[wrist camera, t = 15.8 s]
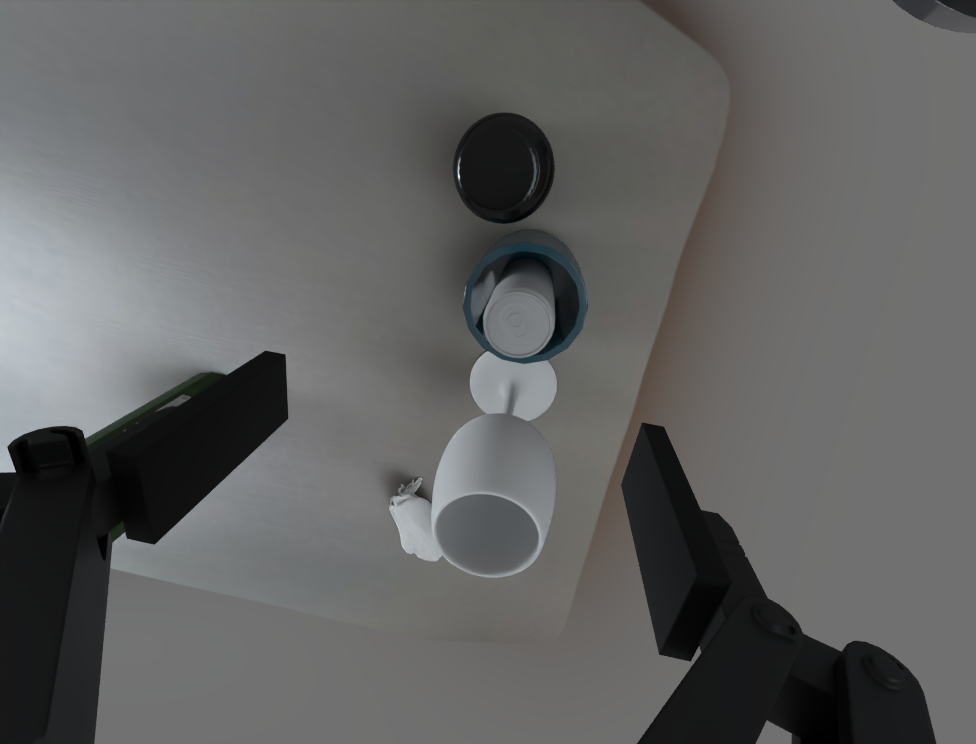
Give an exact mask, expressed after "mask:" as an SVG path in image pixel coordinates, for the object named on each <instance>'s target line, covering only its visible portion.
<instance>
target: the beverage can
mask: <svg viewBox="0 0 976 744" xmlns="http://www.w3.org/2000/svg"><path fill="white" fill-rule="evenodd" d="M483 326H484V331H485V335H486V338H487V339H488V341H489V343H490V344H491V346H492V347H493V348H495V349H496V350H497V351H498V352H500V353H502V354H503V355H506V356H509V357H512V358H524V357H529V356H532V355H534V354H536V353H538V352H539V351H540V350H542V349H543V348H544V347H545V346H546V344H547V343H548V341H549V340H550V338H551V337H552V334H553V331H554V328H555V304H554V291H553V279H552V275H551V273H550V271H549V269H548V268H547V267H546V266H545V265H544V264H542V263H541V262H539V261H537V260H534V259H529V258H523V259H519V260H516V261H514V262H512V263H510V264H509V265H508V266H507V267H506V268H505V269H504V271H503V273H502V274H501V276H500V278H499V280H498V283H497V285H496V287H495V289H494V291H493V293H492V295H491V297H490V300H489V302H488V304H487V306H486V308H485V312H484V316H483Z"/></svg>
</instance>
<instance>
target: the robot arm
mask: <svg viewBox="0 0 976 744" xmlns="http://www.w3.org/2000/svg"><path fill="white" fill-rule="evenodd" d="M287 419H288V402H287V379H286V356H285V354H280V353H275V352H269V351H264V352H263V353H261V354H260V355H258V356H256V357H255V358H253V359H252V360H250V361H248V362H247V363H245V364H244V365H242V366H241V367H239V368H237V369H236V370H234V371H233V372H231V373H229V374H228V375H226V376H225V377H223V378H221V379H220V380H218V381H217V382H215V383H214V384H212V385H210V386H209V387H207V388H206V389H204V390H202V391H201V392H199V393H198V394H196V395H194V396H193V397H191V398H190V399H188V400H187V401H185V402H183V403H182V404H180V405H179V406H170V407H167V408H164V409H161V410H158V411H156V412H153V413H151V414H150V415H148V416H146V417H145V418H143V419H141V420H140V421H138V423H137V424H136V423H135V424H133V425H131V426H130V427H128V428H126V430H125V431H122V432H120V433H118V434H117V435H115V436H113V437H112V438H110V439H108V440H107V441H105V442H103V443H102V444H100V445H98V446H97V447H95V448H93V449H92V450H90V451H89V452H88V449H87V445H86V442H85V438H84V434H83V431H82V430H80V429H78V428H76V427H69V426H56V427H48V428H43V429H38V430H35V431H32V432H29V433H27V434H24V435H22V436H20V437H18V438H17V439H15V440H13V441H12V442H11V443H10V445H9V446H8V447H7V448H8V451H9V453H10V456H11V459H12V462H13V465H14V467H15V470H16V472H10V473H0V744H94V740H95V729H96V718H97V707H98V696H99V685H100V673H101V663H102V651H103V640H104V629H105V618H106V607H107V596H108V584H109V574H110V563H111V552H112V538H111V535H110V531H111V530H112V529H114V528H115V527H116V526H117V525H119V524H120V523H121V522H122V521H123V525H124V529H125V533H126V537H127V539H131V540H136V541H141V542H145V543H150V544H154V545H155V544H156V543H157V542H158V541H159V540H160V539H161V538H162V537H163V536H164V535H165V534H166V533H167V532H168V531H169V530H171V529H172V528H173V527H174V526H175V525H176V524H177V523H178V522H179V521H180V520H181V519H182V518H183V517H184V516H185V515H186V514H188V513H189V512H190V511H191V510H192V509H193V508H194V507H195V506H196V505H197V504H198V503H199V502H200V501H201V500H202V499H203V498H204V497H206V496H207V495H208V494H209V493H210V492H211V491H212V490H213V489H214V488H215V487H216V486H217V485H218V484H219V483H220V482H221V481H223V480H224V479H225V478H226V477H227V476H228V475H229V474H230V473H231V472H232V471H233V470H234V469H235V468H236V467H237V466H238V465H240V464H241V463H242V462H243V461H244V460H245V459H246V458H247V457H248V456H249V455H250V454H251V453H252V452H253V451H254V450H255V449H256V448H258V447H259V446H260V445H261V444H262V443H263V442H264V441H265V440H266V439H267V438H268V437H269V436H270V435H271V434H272V433H273V432H275V431H276V430H277V429H278V428H279V427H280V426H281V425H282V424H283V423H284V422H285V421H286V420H287ZM621 486H622V491H623V495H624V500H625V503H626V508H627V513H628V518H629V521H630V527H631V531H632V535H633V540H634V544H635V549H636V553H637V558H638V562H639V567H640V571H641V575H642V580H643V584H644V589H645V593H646V598H647V602H648V607H649V611H650V615H651V620H652V624H653V629H654V633H655V637H656V642H657V647H658V651H659V655H664V656H668V657H673V658H677V659H682V660H686V661H691V660H692V658H693V656H694V654H695V652H696V650H697V648H698V647H699V646H700V649H701V654H700V656H699V657H698V659H697V660H696V661H695V663H694V664H693V666H692V667H691V668H690V670H689V671H688V673H687V674H686V675H685V677H684V678H683V680H682V681H681V682H680V684H679V685H678V687H677V688H676V690H675V691H674V693H673V694H672V695H671V697H670V698H669V699H668V701H667V702H666V704H665V705H664V706H663V708H662V709H661V711H660V712H659V714H658V715H657V716H656V718H655V719H654V721H653V722H652V723H651V725H650V726H649V728H648V729H647V731H646V732H645V734H644V735H643V736H642V738H641V739H640V740H639V742H638V743H637V744H756V741H757V739H758V737H759V735H760V733H761V731H762V729H763V727H764V724H765V722H766V720H768V721H769V722H771V723H773V724H775V725H777V726H779V727H781V728H783V729H784V730H786V731H788V732H790V733H792V744H936V741H935V737H934V732H933V728H932V724H931V720H930V716H929V712H928V708H927V704H926V700H925V696H924V693H923V690H922V688H921V686H920V684H919V682H918V680H917V679H916V678H915V677H914V676H913V674H912V673H911V672H910V671H909V669H908V668H906V667H905V666H904V665H903V664H902V663H901V662H900V661H899V660H897V659H896V658H895V657H894V656H892V655H891V654H889V653H887V652H886V651H884V650H883V649H881V648H879V647H877V646H874V645H872V644H869V643H867V642H861V641H853V642H851V643H849V644H847V645H846V647H845V648H844V649H843V651H842V652H841V651H838V650H837V649H835V648H832V647H830V646H828V645H826V644H824V643H821V642H819V641H817V640H815V639H813V638H811V637H809V636H807V635H805V634H803V632H802V630H801V628H800V626H799V624H798V622H797V621H796V620H795V619H794V618H793V616H792V615H791V614H790V613H789V612H788V611H786V610H785V609H784V608H783V607H782V606H780V605H779V604H777V603H775V602H773V601H772V600H770V599H768V598H767V596H766V594H765V592H764V590H763V588H762V586H761V584H760V582H759V580H758V578H757V576H756V574H755V572H754V570H753V568H752V566H751V564H750V562H749V560H748V558H747V557H745V553H744V551H743V549H742V547H741V545H739V541H738V539H737V537H736V535H735V533H734V531H733V529H732V527H731V526H729V524H728V523H727V522H726V521H725V520H724V519H723V518H722V517H721V516H720V515H719V514H718V513H713V512H708V511H703V510H701V509H700V507H699V505H698V503H697V500H696V498H695V496H694V494H693V492H692V489H691V487H690V485H689V482H688V480H687V478H686V476H685V473H684V471H683V469H682V467H681V464H680V462H679V460H678V457H677V455H676V453H675V451H674V449H673V446H672V444H671V442H670V440H669V437H668V435H667V433H666V430H665V428H664V427H662V426H657V425H652V424H647V423H642V425H641V427H640V430H639V433H638V436H637V439H636V442H635V445H634V448H633V451H632V454H631V457H630V460H629V463H628V466H627V469H626V472H625V475H624V478H623V481H622V484H621Z"/></svg>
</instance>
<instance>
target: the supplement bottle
mask: <svg viewBox="0 0 976 744" xmlns="http://www.w3.org/2000/svg"><path fill="white" fill-rule="evenodd" d="M554 170H555V165H554V157H553V152H552V148H551V146H550V143H549V141H548V139H547V137H546V136H545V134H544V133H543V132H542V130H541V129H540V128H539V127H538V126H537V125H536V124H535V123H533V122H532V121H531V120H529V119H527V118H525V117H523V116H521V115H518V114H514V113H495V114H491V115H488V116H486V117H483V118H482V119H480V120H478V121H477V122H475V123H474V124H473V125H472V126H471V127H470V128H469V129H468V130H467V131H466V132H465V134H464V135H463V137H462V138H461V140H460V142H459V144H458V146H457V149H456V152H455V156H454V163H453V175H454V181H455V185H456V188H457V191H458V193H459V196H460V197H461V199H462V201H463V202H464V204H465V205H466V206H467V207H468V208H469V209H470V210H471V211H472V212H473V213H474V214H475V215H477V216H479V217H480V218H482V219H484V220H487V221H489V222H493V223H501V224H505V223H513V222H517V221H520V220H522V219H524V218H526V217H528V216H529V215H531V214H532V213H534V212H535V211H536V210H537V209H538V208H539V207H540V206H541V205H542V203H543V202H544V201H545V199H546V197H547V196H548V194H549V191H550V189H551V186H552V183H553V178H554Z"/></svg>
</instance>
